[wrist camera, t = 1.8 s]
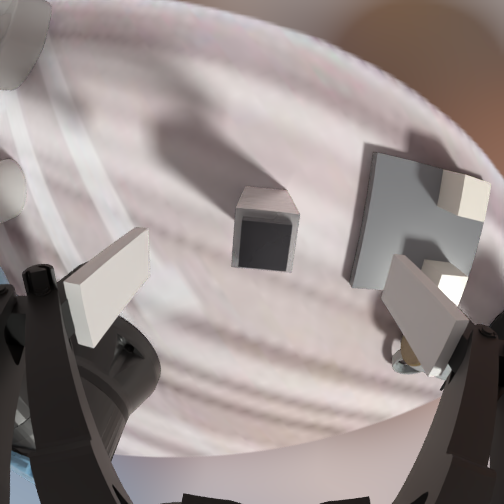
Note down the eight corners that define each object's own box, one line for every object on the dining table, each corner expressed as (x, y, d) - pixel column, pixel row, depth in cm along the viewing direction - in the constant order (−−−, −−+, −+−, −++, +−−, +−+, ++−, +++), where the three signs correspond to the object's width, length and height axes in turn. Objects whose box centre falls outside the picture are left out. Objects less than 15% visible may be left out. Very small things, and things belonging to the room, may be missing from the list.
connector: (241, 226, 29) (229, 273, 18) (245, 185, 27) (234, 211, 17) (282, 230, 29) (292, 279, 18) (287, 190, 27) (302, 218, 17)
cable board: (349, 282, 30) (362, 307, 26) (373, 152, 26) (395, 154, 21) (457, 290, 30) (478, 310, 26) (484, 183, 25) (512, 192, 21)
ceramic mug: (421, 296, 31) (450, 333, 24) (458, 314, 32) (485, 347, 25) (375, 360, 35) (391, 401, 28) (414, 371, 36) (432, 408, 28)
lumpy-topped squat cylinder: (57, -4, 18) (19, -23, 10) (38, 80, 23) (-10, 75, 15) (9, 20, 19) (-28, 11, 10) (-7, 98, 23) (-50, 99, 15)
